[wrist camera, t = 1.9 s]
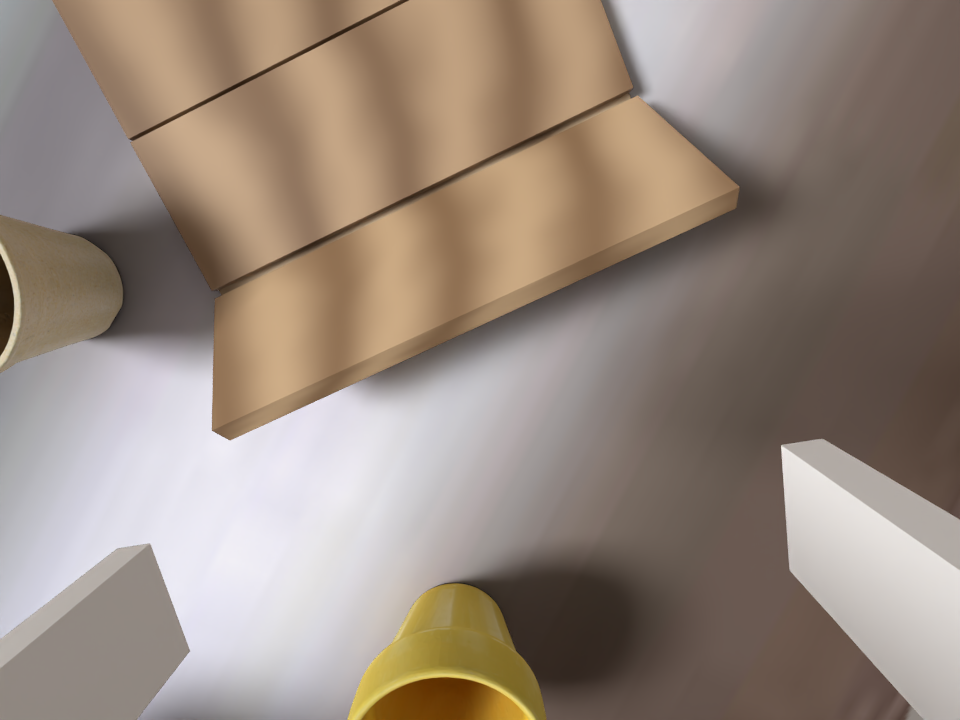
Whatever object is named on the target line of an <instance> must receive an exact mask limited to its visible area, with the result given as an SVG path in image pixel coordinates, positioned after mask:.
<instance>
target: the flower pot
mask: <svg viewBox="0 0 960 720" xmlns="http://www.w3.org/2000/svg"><path fill="white" fill-rule="evenodd" d="M122 303H123V286H122V281H121V278H120V275H119V273H118V271H117V269H116V267H115V265H114V263H113V262H112V260H111V259H110V258H109V256H108V255H107V254H106V253H105V252H103V251H102V250H100V249H99V248H98V247H96V246H95V245H94V244H92V243H91V242H89V241H88V240H86V239H84V238H82V237H79V236H76V235H72V234H67V233H64V232H60V231H56V230H53V229H49V228H45V227H42V226H38V225H35V224H31V223H28V222H24V221H20V220H17V219H13V218H10V217H6V216H2V215H0V373H1V372H3V371H5V370H7V369H8V368H10V367H11V366H13V365H14V364H15V363H17V362H20V361H23V360H26V359H29V358H32V357H35V356H38V355H41V354H44V353H47V352H49V351H52V350H55V349H58V348H61V347H64V346H67V345H70V344H74V343H77V342H80V341H83V340H87V339H90V338H93V337H96V336H98V335H100V334H101V333H103V332H105V331H106V330H107V329H108V328H109V327H110V325H111V323H112V322H113V320H114V318H115V317H116V315H117V313H118V312H119V310H120V308H121V307H122Z"/></svg>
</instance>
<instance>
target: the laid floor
mask: <svg viewBox="0 0 960 720" xmlns="http://www.w3.org/2000/svg"><path fill="white" fill-rule="evenodd" d="M52 1H53V2H54V4H55V6H56V8H57V10H58V12H59V13H60V15H61V17H62V19H63V21H64V22H65V24H66V26H67V28H68V30H69V32H70V33H71V35H72V37H73V39H74V41H75V43H76V44H77V46H78V48H79V50H80V52H81V53H82V55H83V57H84V59H85V61H86V63H87V64H88V66H89V68H90V70H91V72H92V74H93V75H94V77H95V79H96V81H97V83H98V84H99V86H100V88H101V90H102V92H103V94H104V95H105V97H106V99H107V101H108V103H109V105H110V106H111V108H112V110H113V112H114V114H115V115H116V117H117V119H118V121H119V123H120V125H121V126H122V128H123V130H124V132H125V134H126V136H127V137H128V139H130V140H132V142H130V143H131V145H132V146H133V148H134V150H135V152H136V154H137V156H138V157H139V159H140V161H141V163H142V165H143V167H144V168H145V170H146V172H147V174H148V176H149V177H150V179H151V181H152V183H153V185H154V187H155V188H156V190H157V192H158V194H159V196H160V197H161V199H162V201H163V203H164V205H165V207H166V208H167V210H168V212H169V214H170V216H171V218H172V219H173V221H174V223H175V225H176V227H177V228H178V230H179V232H180V234H181V236H182V238H183V239H184V241H185V243H186V245H187V247H188V249H189V250H190V252H191V254H192V256H193V258H194V259H195V261H196V263H197V265H198V267H199V269H200V270H201V272H202V274H203V276H204V278H205V280H206V281H207V283H208V285H209V287H210V289H211V290H212V291H217V290H219V292H220V293H221V295H223V294H226V293H228V292H230V291H232V290H234V289H236V288H238V287H240V286H242V285H244V284H246V283H248V282H251V281H253V280H255V279H257V278H259V277H261V276H263V275H265V274H267V273H269V272H271V271H273V270H276V269H278V268H280V267H282V266H284V265H286V264H288V263H290V262H292V261H294V260H296V259H298V258H301V257H303V256H305V255H307V254H309V253H311V252H313V251H315V250H317V249H319V248H321V247H323V246H325V245H328V244H330V243H332V242H334V241H336V240H338V239H340V238H342V237H344V236H346V235H348V234H350V233H353V232H355V231H357V230H359V229H361V228H363V227H365V226H367V225H369V224H371V223H373V222H375V221H378V220H380V219H382V218H384V217H386V216H388V215H390V214H392V213H394V212H396V211H398V210H400V209H402V208H405V207H407V206H409V205H411V204H413V203H415V202H417V201H419V200H421V199H423V198H425V197H427V196H430V195H432V194H434V193H436V192H438V191H440V190H442V189H444V188H446V187H448V186H450V185H452V184H455V183H457V182H459V181H461V180H463V179H465V178H467V177H469V176H471V175H473V174H475V173H477V172H479V171H482V170H484V169H486V168H488V167H490V166H492V165H494V164H496V163H498V162H500V161H502V160H504V159H507V158H509V157H511V156H513V155H515V154H517V153H519V152H521V151H523V150H525V149H527V148H529V147H532V146H534V145H536V144H538V143H540V142H542V141H544V140H546V139H548V138H550V137H552V136H554V135H556V134H559V133H561V132H563V131H565V130H567V129H569V128H571V127H573V126H575V125H577V124H579V123H581V122H584V121H586V120H588V119H590V118H592V117H594V116H596V115H598V114H600V113H602V112H604V111H606V110H609V109H611V108H613V107H615V106H617V105H619V104H621V103H623V102H625V101H627V100H629V99H631V97H630V94H629V92H630V91H631V90H632V89H633V85H632V82H631V80H630V77H629V74H628V72H627V69H626V66H625V64H624V61H623V58H622V55H621V53H620V50H619V47H618V45H617V42H616V39H615V37H614V34H613V31H612V29H611V26H610V23H609V21H608V18H607V15H606V13H605V10H604V7H603V5H602V2H601V0H52Z"/></svg>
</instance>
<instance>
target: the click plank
mask: <svg viewBox="0 0 960 720" xmlns="http://www.w3.org/2000/svg"><path fill="white" fill-rule="evenodd" d="M739 188H740V187H739V186H738V185H737V184H736V183H735V182H733V181H732V180H731V179H730V178H729V177H728V176H727V175H726V174H725V173H723V172H722V171H721V170H720V169H719V168H718V167H717V166H716V165H715V164H713V163H712V162H711V161H710V160H709V159H708V158H707V157H706V156H704V155H703V154H702V153H701V152H700V151H699V150H698V149H697V148H696V147H694V146H693V145H692V144H691V143H690V142H689V141H688V140H687V139H686V138H684V137H683V136H682V135H681V134H680V133H679V132H678V131H677V130H676V129H674V128H673V127H672V126H671V125H670V124H669V123H668V122H667V121H665V120H664V119H663V118H662V117H661V116H660V115H659V114H658V113H657V112H655V111H654V110H653V109H652V108H651V107H650V106H649V105H648V104H647V103H645V102H644V101H643V100H642V99H641V98H640V97H639V96H636V97H634V98H631V99H629V100H627V101H625V102H623V103H621V104H619V105H617V106H615V107H613V108H611V109H609V110H606V111H604V112H602V113H600V114H598V115H596V116H594V117H592V118H590V119H588V120H586V121H584V122H581V123H579V124H577V125H575V126H573V127H571V128H569V129H567V130H565V131H563V132H561V133H559V134H556V135H554V136H552V137H550V138H548V139H546V140H544V141H542V142H540V143H538V144H536V145H534V146H532V147H529V148H527V149H525V150H523V151H521V152H519V153H517V154H515V155H513V156H511V157H509V158H507V159H504V160H502V161H500V162H498V163H496V164H494V165H492V166H490V167H488V168H486V169H484V170H482V171H479V172H477V173H475V174H473V175H471V176H469V177H467V178H465V179H463V180H461V181H459V182H457V183H455V184H452V185H450V186H448V187H446V188H444V189H442V190H440V191H438V192H436V193H434V194H432V195H430V196H427V197H425V198H423V199H421V200H419V201H417V202H415V203H413V204H411V205H409V206H407V207H405V208H402V209H400V210H398V211H396V212H394V213H392V214H390V215H388V216H386V217H384V218H382V219H380V220H378V221H375V222H373V223H371V224H369V225H367V226H365V227H363V228H361V229H359V230H357V231H355V232H353V233H350V234H348V235H346V236H344V237H342V238H340V239H338V240H336V241H334V242H332V243H330V244H328V245H325V246H323V247H321V248H319V249H317V250H315V251H313V252H311V253H309V254H307V255H305V256H303V257H301V258H298V259H296V260H294V261H292V262H290V263H288V264H286V265H284V266H282V267H280V268H278V269H276V270H273V271H271V272H269V273H267V274H265V275H263V276H261V277H259V278H257V279H255V280H253V281H251V282H248V283H246V284H244V285H242V286H240V287H238V288H236V289H234V290H232V291H230V292H228V293H226V294H223V295H221V296H219V297H217V298H215V309H214V356H213V403H212V431H214V432H215V433H217V434H219V435H221V436H223V437H225V438H226V439H228V440H232V439H234V438H236V437H239V436H241V435H243V434H245V433H247V432H249V431H252V430H254V429H256V428H258V427H260V426H263V425H265V424H267V423H269V422H271V421H273V420H276V419H278V418H280V417H282V416H284V415H287V414H289V413H291V412H293V411H295V410H297V409H300V408H302V407H304V406H306V405H308V404H311V403H313V402H315V401H317V400H319V399H321V398H324V397H326V396H328V395H330V394H332V393H334V392H337V391H339V390H341V389H343V388H345V387H348V386H350V385H352V384H354V383H356V382H358V381H361V380H363V379H365V378H367V377H369V376H372V375H374V374H376V373H378V372H380V371H382V370H385V369H387V368H389V367H391V366H393V365H396V364H398V363H400V362H402V361H404V360H406V359H409V358H411V357H413V356H415V355H417V354H420V353H422V352H424V351H426V350H428V349H430V348H433V347H435V346H437V345H439V344H441V343H444V342H446V341H448V340H450V339H452V338H454V337H457V336H459V335H461V334H463V333H465V332H467V331H470V330H472V329H474V328H476V327H478V326H481V325H483V324H485V323H487V322H489V321H491V320H494V319H496V318H498V317H500V316H502V315H505V314H507V313H509V312H511V311H513V310H515V309H518V308H520V307H522V306H524V305H526V304H529V303H531V302H533V301H535V300H537V299H539V298H542V297H544V296H546V295H548V294H550V293H553V292H555V291H557V290H559V289H561V288H563V287H566V286H568V285H570V284H572V283H574V282H577V281H579V280H581V279H583V278H585V277H587V276H590V275H592V274H594V273H596V272H598V271H601V270H603V269H605V268H607V267H609V266H611V265H614V264H616V263H618V262H620V261H622V260H624V259H627V258H629V257H631V256H633V255H635V254H638V253H640V252H642V251H644V250H646V249H648V248H651V247H653V246H655V245H657V244H659V243H662V242H664V241H666V240H668V239H670V238H672V237H675V236H677V235H679V234H681V233H683V232H686V231H688V230H690V229H692V228H694V227H696V226H699V225H701V224H703V223H705V222H707V221H710V220H712V219H714V218H716V217H718V216H720V215H723V214H725V213H727V212H729V211H731V210H734V209H736V206H737V200H738V194H739Z"/></svg>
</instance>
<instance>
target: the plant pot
mask: <svg viewBox="0 0 960 720" xmlns="http://www.w3.org/2000/svg"><path fill="white" fill-rule="evenodd" d="M347 720H546V715H545V710H544V704H543V700H542V695H541V691H540V688H539V685H538V682H537V680H536V677H535V676H534V674H533V672H532V670H531V668H530V667H529V665H528V664H527V663H526V661H525V660H524V659H523V658H522V657H521V656H520V655H519V654H518V653H517V652H516V650H515V647H514V645H513V642H512V639H511V637H510V634H509V632H508V629H507V626H506V623H505V621H504V618H503V615H502V613H501V611H500V609H499V607H498V605H497V604H496V602H495V601H494V600H493V599H492V598H491V597H490V596H488V595H487V594H486V593H485V592H483V591H481V590H480V589H478V588H476V587H473V586H470V585H466V584H458V583H453V584H444V585H440V586H437V587H434V588H432V589H430V590H428V591H427V592H425V593H424V594H423V595H421V596H420V597H419V598H418V599H417V601H416V602H415V603H414V604H413V606H412V607H411V609H410V611H409V613H408V615H407V617H406V618H405V620H404V622H403V624H402V626H401V628H400V629H399V631H398V633H397V635H396V636H395V638H394V640H393V642H392V644H391V645H389V646H388V647H387V648H385V649H384V650H383V651H382V652H381V653H380V654H379V655H378V656H377V657H376V658H375V659H374V660H373V662H372V663H371V664H370V666H369V667H368V669H367V670H366V672H365V674H364V676H363V677H362V680H361V682H360V684H359V687H358V690H357V692H356V695H355V698H354V700H353V703H352V706H351V709H350V713H349V716H348V719H347Z"/></svg>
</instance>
